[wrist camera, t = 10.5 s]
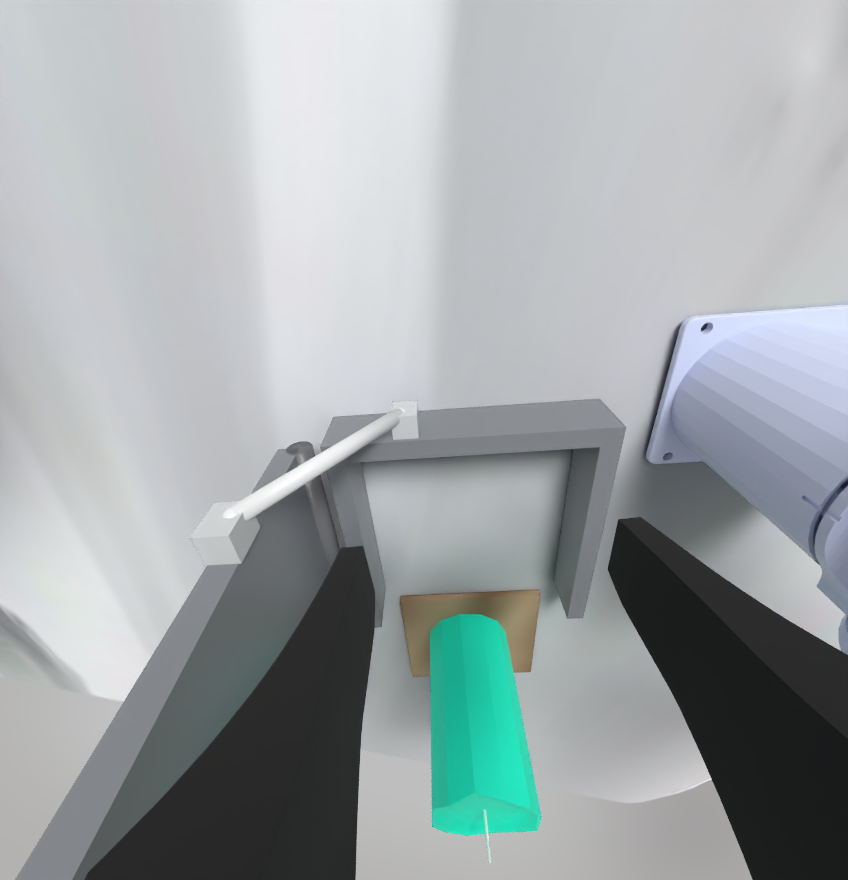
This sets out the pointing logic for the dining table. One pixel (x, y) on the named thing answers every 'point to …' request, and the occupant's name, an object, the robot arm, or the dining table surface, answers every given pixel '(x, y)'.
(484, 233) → the dining table surface
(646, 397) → the dining table surface
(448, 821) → the candle
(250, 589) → the grey bracket
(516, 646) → the tan pad
